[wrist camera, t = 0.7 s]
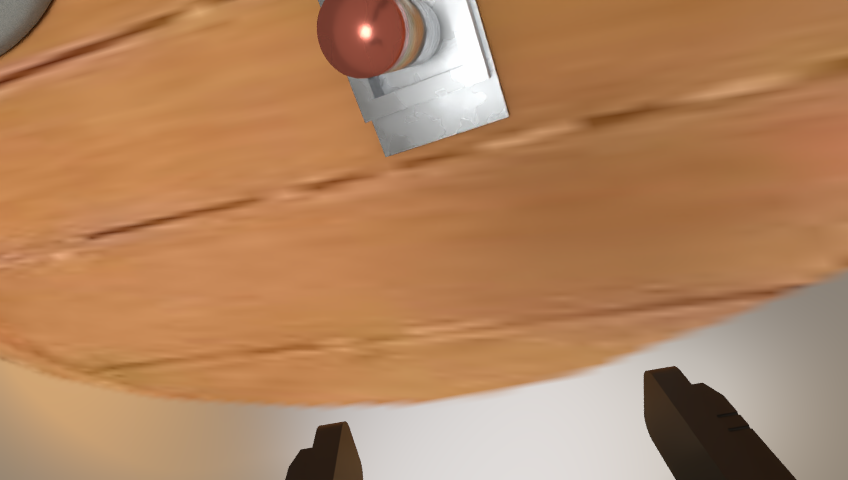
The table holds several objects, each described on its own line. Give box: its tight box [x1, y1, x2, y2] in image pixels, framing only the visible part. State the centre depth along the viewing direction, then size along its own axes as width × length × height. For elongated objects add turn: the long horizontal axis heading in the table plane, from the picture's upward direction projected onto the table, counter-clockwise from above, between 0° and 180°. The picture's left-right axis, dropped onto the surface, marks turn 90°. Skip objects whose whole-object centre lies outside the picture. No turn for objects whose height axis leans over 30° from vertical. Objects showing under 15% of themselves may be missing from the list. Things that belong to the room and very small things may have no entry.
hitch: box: [318, 0, 509, 157], centre depth 30 cm, size 14×9×3 cm, turn 20°
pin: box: [317, 0, 440, 79], centre depth 26 cm, size 4×4×10 cm
